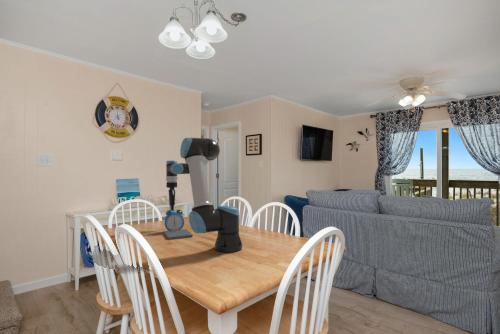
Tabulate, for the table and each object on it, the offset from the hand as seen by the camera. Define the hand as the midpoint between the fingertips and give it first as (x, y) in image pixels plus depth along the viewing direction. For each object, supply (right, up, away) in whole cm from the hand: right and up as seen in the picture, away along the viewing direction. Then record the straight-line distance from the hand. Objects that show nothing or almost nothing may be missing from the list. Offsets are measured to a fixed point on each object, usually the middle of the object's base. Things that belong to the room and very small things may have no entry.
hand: (171, 214), depth 199 cm
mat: (+9, -10, -19) cm, 23 cm away
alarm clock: (+4, -11, -8) cm, 14 cm away
